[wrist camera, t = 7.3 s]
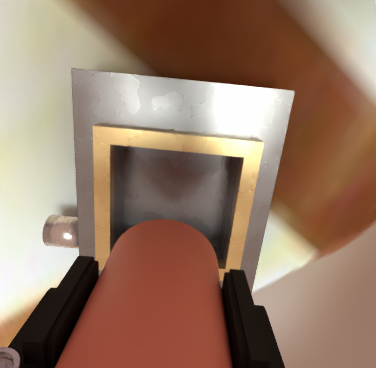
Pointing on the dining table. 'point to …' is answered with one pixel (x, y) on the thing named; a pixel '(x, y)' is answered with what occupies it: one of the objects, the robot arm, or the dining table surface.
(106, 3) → the dining table surface
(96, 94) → the grey square socket base
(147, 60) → the dining table surface
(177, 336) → the oil can
